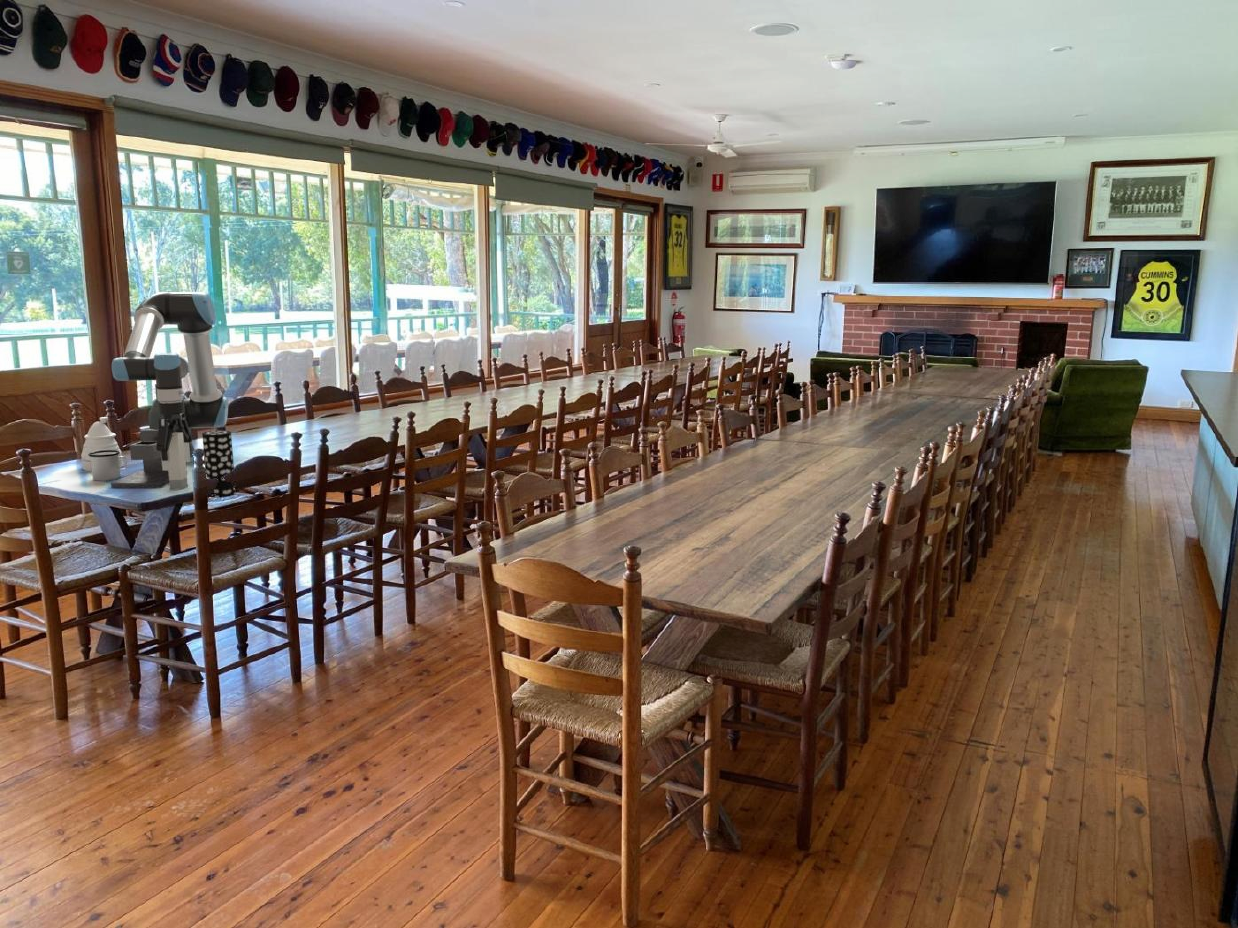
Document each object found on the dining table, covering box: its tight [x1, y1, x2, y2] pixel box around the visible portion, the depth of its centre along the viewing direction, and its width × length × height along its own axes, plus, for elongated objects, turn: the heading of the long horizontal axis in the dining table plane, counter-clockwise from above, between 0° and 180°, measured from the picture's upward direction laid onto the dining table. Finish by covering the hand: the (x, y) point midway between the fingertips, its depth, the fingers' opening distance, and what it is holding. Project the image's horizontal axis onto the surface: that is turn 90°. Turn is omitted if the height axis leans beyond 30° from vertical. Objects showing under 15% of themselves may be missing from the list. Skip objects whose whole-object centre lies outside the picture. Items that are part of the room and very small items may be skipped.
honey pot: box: [80, 416, 124, 472], centre depth 331 cm, size 13×13×18 cm
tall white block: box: [168, 433, 189, 490], centre depth 300 cm, size 4×4×18 cm
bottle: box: [147, 383, 164, 430], centre depth 333 cm, size 9×9×30 cm
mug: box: [88, 450, 128, 482], centre depth 315 cm, size 12×10×9 cm
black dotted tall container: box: [201, 430, 237, 499], centre depth 290 cm, size 8×8×20 cm
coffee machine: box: [110, 429, 188, 489], centre depth 310 cm, size 20×16×16 cm
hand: (176, 466), depth 300 cm, fingers open, 13 cm apart
